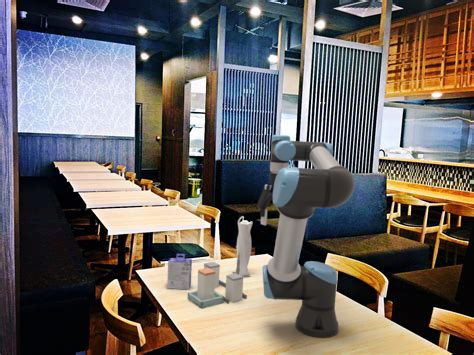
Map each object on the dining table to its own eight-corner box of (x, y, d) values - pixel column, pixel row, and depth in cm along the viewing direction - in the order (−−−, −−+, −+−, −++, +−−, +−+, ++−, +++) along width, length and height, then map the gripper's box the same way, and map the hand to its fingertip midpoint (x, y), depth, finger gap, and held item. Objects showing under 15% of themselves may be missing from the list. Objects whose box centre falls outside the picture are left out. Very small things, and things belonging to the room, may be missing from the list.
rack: (246, 298, 170) (247, 275, 169) (227, 303, 164) (228, 280, 163) (216, 281, 187) (217, 260, 186) (198, 285, 181) (199, 264, 180)
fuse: (214, 300, 165) (215, 271, 164) (203, 302, 162) (204, 273, 161) (207, 295, 169) (208, 267, 168) (197, 298, 166) (198, 269, 165)
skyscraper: (231, 271, 201) (234, 216, 198) (246, 270, 204) (249, 215, 200) (236, 277, 193) (239, 219, 190) (252, 276, 196) (255, 219, 192)
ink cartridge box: (191, 285, 181) (192, 253, 180) (189, 290, 176) (190, 257, 174) (169, 284, 181) (170, 252, 180) (166, 288, 176) (167, 256, 174)
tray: (223, 302, 165) (223, 296, 164) (201, 308, 158) (201, 302, 158) (209, 293, 173) (209, 287, 173) (187, 298, 167) (187, 292, 166)
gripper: (293, 171, 179) (290, 218, 181) (249, 172, 163) (246, 223, 166) (306, 172, 173) (303, 221, 175) (261, 174, 158) (258, 227, 160)
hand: (275, 223), depth 170 cm, fingers open, 13 cm apart
